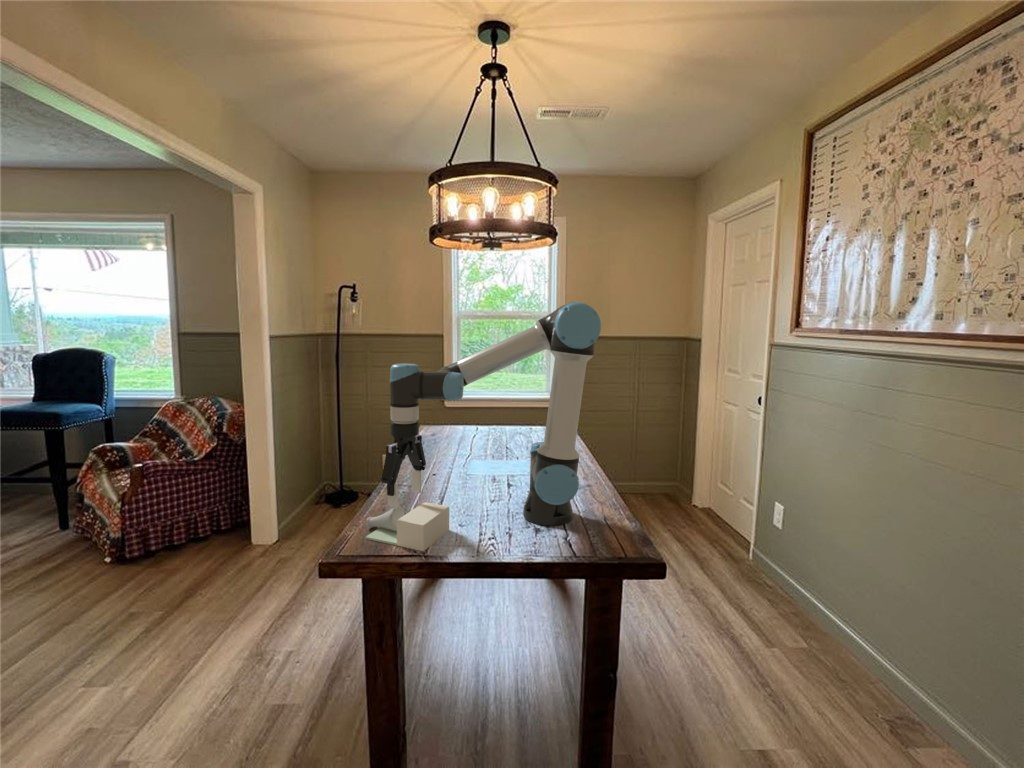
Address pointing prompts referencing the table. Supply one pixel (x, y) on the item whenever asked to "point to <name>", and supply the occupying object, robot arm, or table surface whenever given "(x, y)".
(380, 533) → the mat
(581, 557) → the table surface
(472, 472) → the table surface
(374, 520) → the flask
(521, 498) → the table surface
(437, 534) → the block
